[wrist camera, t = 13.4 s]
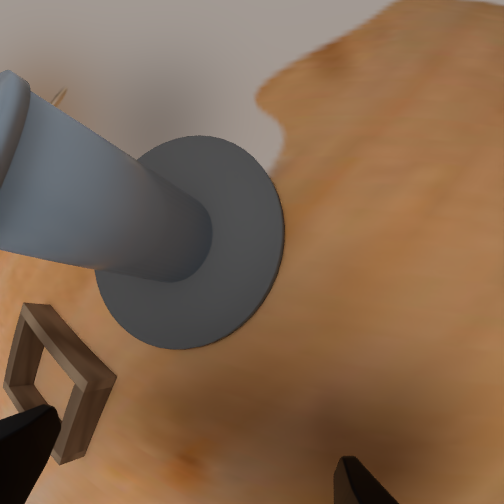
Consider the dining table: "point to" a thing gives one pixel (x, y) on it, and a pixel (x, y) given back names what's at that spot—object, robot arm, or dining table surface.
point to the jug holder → (72, 362)
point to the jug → (89, 197)
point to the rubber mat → (219, 257)
